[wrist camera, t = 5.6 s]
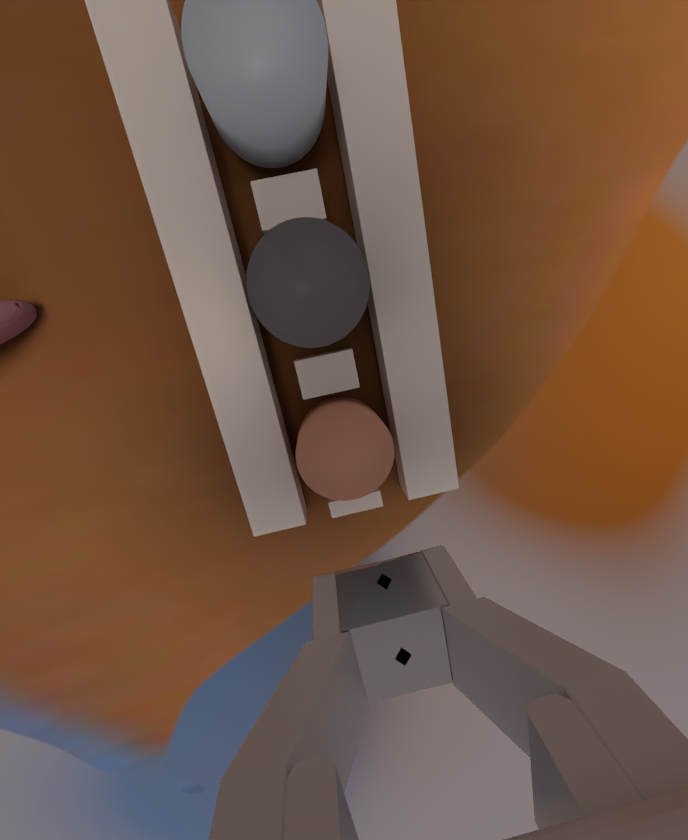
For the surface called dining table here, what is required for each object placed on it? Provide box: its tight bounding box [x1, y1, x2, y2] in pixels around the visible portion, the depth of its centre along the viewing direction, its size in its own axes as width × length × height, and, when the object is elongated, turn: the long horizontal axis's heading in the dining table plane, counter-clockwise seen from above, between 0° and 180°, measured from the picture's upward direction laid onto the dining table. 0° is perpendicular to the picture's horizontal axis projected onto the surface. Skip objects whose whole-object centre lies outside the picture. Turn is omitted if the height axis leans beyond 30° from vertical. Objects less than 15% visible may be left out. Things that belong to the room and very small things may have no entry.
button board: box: [85, 0, 459, 537], centre depth 17 cm, size 24×12×2 cm, turn 12°
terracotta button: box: [296, 396, 395, 501], centre depth 19 cm, size 5×5×3 cm
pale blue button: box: [181, 0, 328, 168], centre depth 13 cm, size 5×5×3 cm
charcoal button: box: [246, 217, 370, 348], centre depth 15 cm, size 5×5×3 cm
